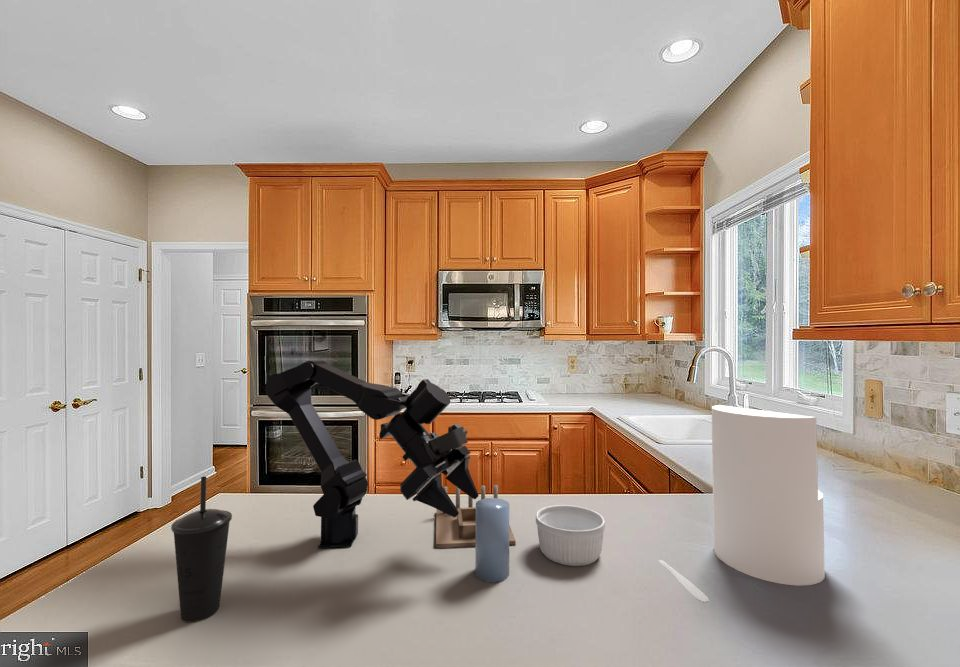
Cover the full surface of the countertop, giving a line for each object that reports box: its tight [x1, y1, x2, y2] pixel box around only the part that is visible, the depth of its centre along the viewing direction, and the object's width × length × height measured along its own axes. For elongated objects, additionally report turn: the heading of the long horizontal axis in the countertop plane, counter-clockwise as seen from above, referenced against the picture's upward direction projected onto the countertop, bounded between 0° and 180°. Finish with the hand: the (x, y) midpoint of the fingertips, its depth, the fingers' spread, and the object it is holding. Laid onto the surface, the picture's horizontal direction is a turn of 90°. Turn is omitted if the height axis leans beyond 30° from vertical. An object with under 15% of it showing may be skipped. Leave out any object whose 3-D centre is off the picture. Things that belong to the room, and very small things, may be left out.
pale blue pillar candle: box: [474, 497, 510, 583], centre depth 75 cm, size 6×6×12 cm
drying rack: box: [435, 484, 517, 549], centre depth 93 cm, size 16×18×7 cm
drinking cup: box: [170, 476, 233, 623], centre depth 63 cm, size 8×8×20 cm
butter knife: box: [658, 559, 710, 603], centre depth 79 cm, size 1×27×3 cm
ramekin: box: [535, 504, 606, 567], centre depth 82 cm, size 13×13×7 cm
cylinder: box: [711, 404, 826, 587], centre depth 80 cm, size 17×17×28 cm
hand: (467, 506), depth 76 cm, fingers open, 9 cm apart
